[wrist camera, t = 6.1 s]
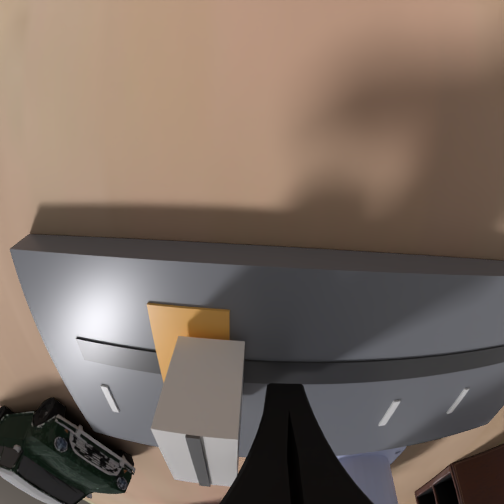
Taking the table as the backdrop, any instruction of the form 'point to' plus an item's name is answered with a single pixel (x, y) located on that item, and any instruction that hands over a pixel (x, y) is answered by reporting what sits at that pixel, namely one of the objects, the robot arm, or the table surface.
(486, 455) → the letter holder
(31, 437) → the miniature car
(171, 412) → the fader knob
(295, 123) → the table surface
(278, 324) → the console board
